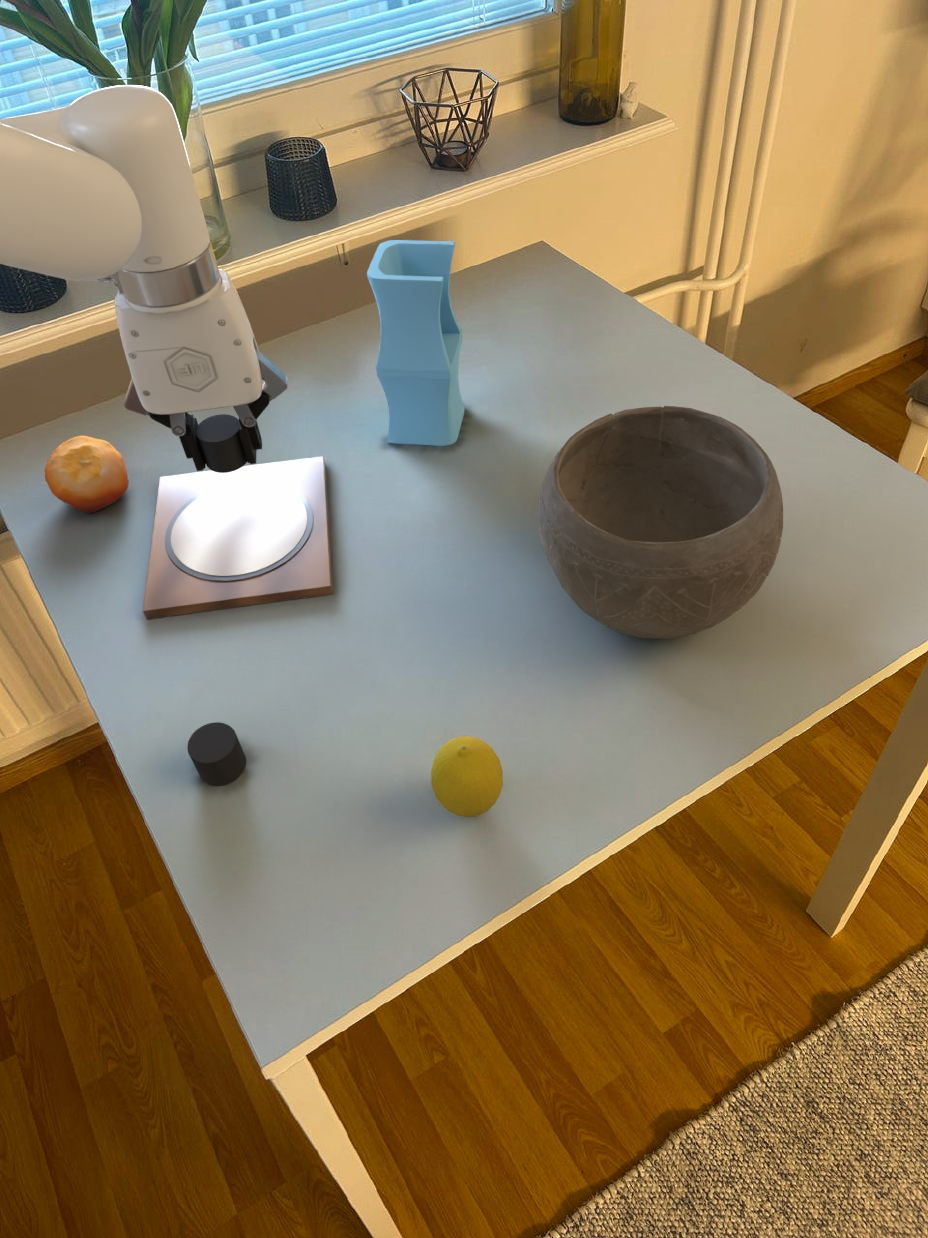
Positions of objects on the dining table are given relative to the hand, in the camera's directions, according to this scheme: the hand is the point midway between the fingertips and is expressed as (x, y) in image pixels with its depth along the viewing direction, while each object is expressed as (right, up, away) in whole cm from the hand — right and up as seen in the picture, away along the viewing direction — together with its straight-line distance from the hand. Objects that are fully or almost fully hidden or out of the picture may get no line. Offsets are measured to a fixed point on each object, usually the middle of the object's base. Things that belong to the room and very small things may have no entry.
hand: (227, 456), depth 85 cm
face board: (-1, -6, +12) cm, 13 cm away
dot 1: (0, 0, 0) cm, 0 cm away
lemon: (+22, -30, -10) cm, 38 cm away
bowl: (+39, -12, +4) cm, 41 cm away
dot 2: (+1, -27, -7) cm, 28 cm away
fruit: (-18, -2, +17) cm, 25 cm away
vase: (+17, +8, +23) cm, 30 cm away
